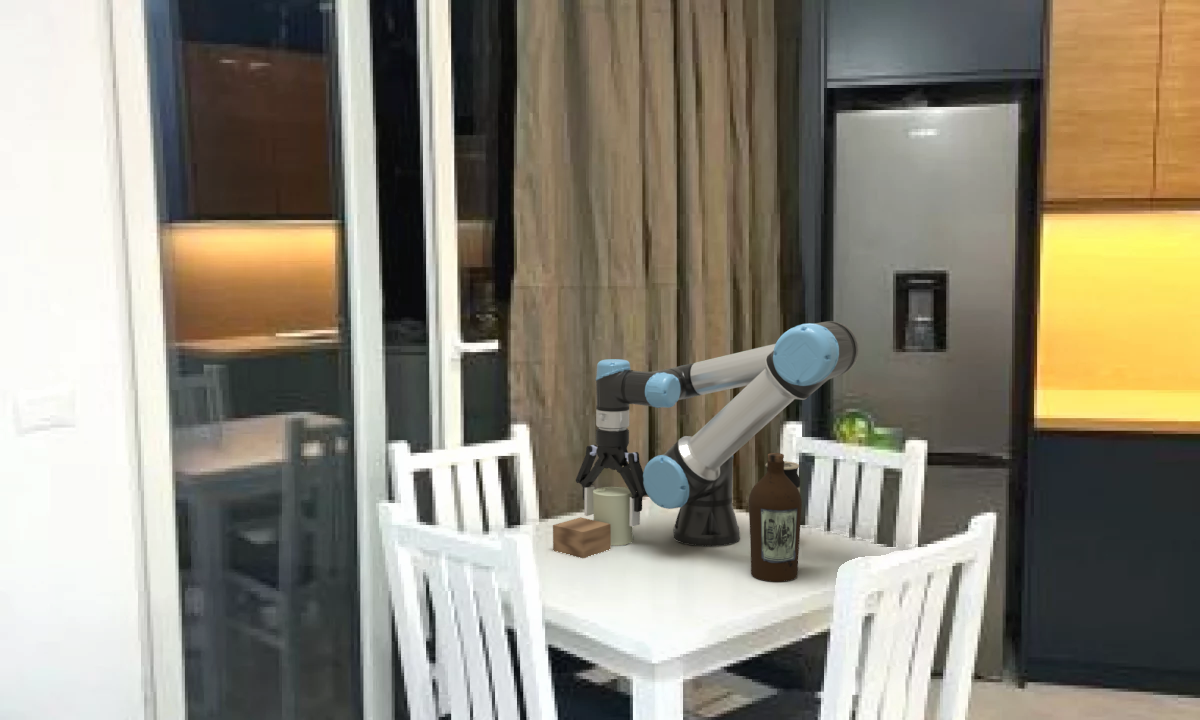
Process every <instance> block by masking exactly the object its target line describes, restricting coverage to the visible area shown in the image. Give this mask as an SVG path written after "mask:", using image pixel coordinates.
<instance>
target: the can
mask: <svg viewBox="0 0 1200 720" xmlns="http://www.w3.org/2000/svg"><path fill="white" fill-rule="evenodd" d="M632 496H633V495H632V494H631V492H630V490H629V489H628V487H624V486H603V487H598V488H597V487H596V488H595V490H593V506H594V514H593V520H595V521H599V522H604V523H608V524H611V547H618V546H619V547H621V546H625V545H629V543H630V544H631V543H633V542H634V537H633V527H631V526H630V497H632Z"/></svg>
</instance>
